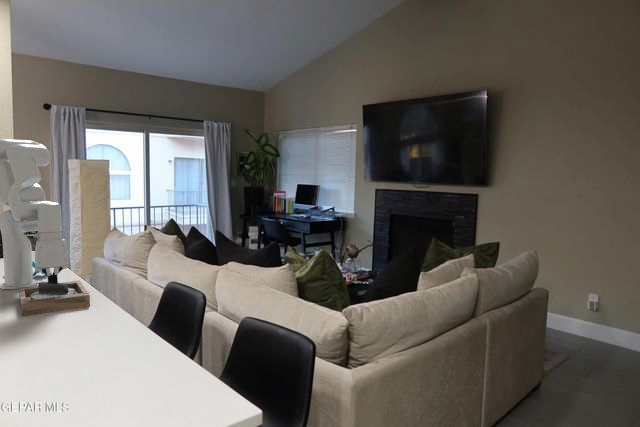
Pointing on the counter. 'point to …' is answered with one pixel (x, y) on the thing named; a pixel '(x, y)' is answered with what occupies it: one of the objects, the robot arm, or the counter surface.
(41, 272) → the gear
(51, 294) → the dial
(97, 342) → the counter surface
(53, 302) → the dial panel
